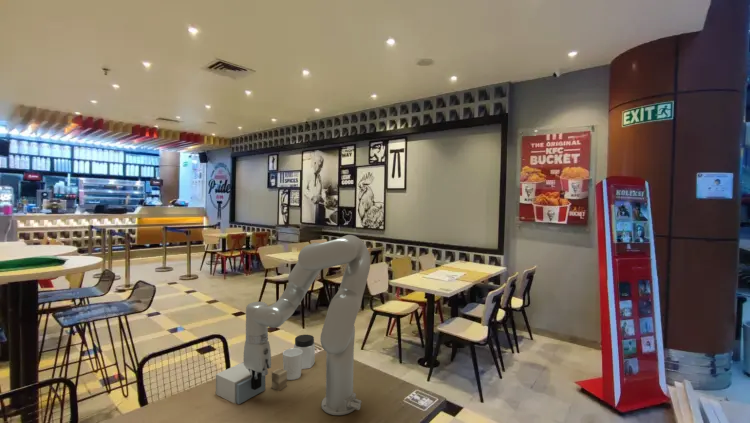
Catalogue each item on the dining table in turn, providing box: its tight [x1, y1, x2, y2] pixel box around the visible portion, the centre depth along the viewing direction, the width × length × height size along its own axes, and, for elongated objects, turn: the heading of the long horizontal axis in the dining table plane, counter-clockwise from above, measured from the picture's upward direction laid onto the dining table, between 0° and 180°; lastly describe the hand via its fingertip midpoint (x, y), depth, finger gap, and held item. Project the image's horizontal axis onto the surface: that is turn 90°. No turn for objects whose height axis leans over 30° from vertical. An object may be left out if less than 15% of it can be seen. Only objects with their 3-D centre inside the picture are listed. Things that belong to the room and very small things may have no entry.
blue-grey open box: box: [236, 375, 266, 405], centre depth 131 cm, size 11×12×7 cm
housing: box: [215, 361, 251, 404], centre depth 132 cm, size 11×12×8 cm
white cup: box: [282, 347, 303, 381], centre depth 145 cm, size 8×8×10 cm
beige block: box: [271, 367, 288, 391], centre depth 136 cm, size 4×4×6 cm
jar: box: [293, 334, 316, 370], centre depth 155 cm, size 9×8×12 cm
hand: (256, 387), depth 127 cm, fingers closed
